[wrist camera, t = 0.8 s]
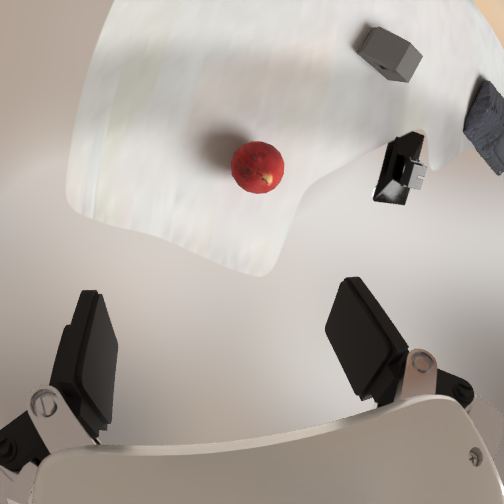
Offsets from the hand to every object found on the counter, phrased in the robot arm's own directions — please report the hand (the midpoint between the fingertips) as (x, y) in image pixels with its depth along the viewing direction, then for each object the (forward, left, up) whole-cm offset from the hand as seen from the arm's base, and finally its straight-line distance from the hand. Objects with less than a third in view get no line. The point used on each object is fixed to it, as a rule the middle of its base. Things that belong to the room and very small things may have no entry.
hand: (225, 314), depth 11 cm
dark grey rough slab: (-34, +45, -27) cm, 63 cm away
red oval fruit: (-2, +6, -27) cm, 28 cm away
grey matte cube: (-24, +14, -27) cm, 38 cm away
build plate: (-12, +28, -27) cm, 40 cm away
